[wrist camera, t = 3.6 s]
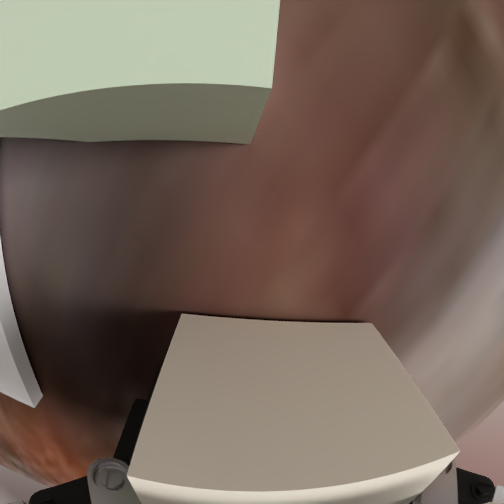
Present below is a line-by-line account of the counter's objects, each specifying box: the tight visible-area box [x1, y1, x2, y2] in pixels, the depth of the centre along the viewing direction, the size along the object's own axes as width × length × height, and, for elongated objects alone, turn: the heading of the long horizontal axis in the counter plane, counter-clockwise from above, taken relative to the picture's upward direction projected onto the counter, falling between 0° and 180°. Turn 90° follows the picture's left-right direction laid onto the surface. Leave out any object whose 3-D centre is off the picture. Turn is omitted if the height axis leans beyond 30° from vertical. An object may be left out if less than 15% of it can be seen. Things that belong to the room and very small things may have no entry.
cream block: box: [127, 314, 460, 504], centre depth 7 cm, size 6×6×6 cm
